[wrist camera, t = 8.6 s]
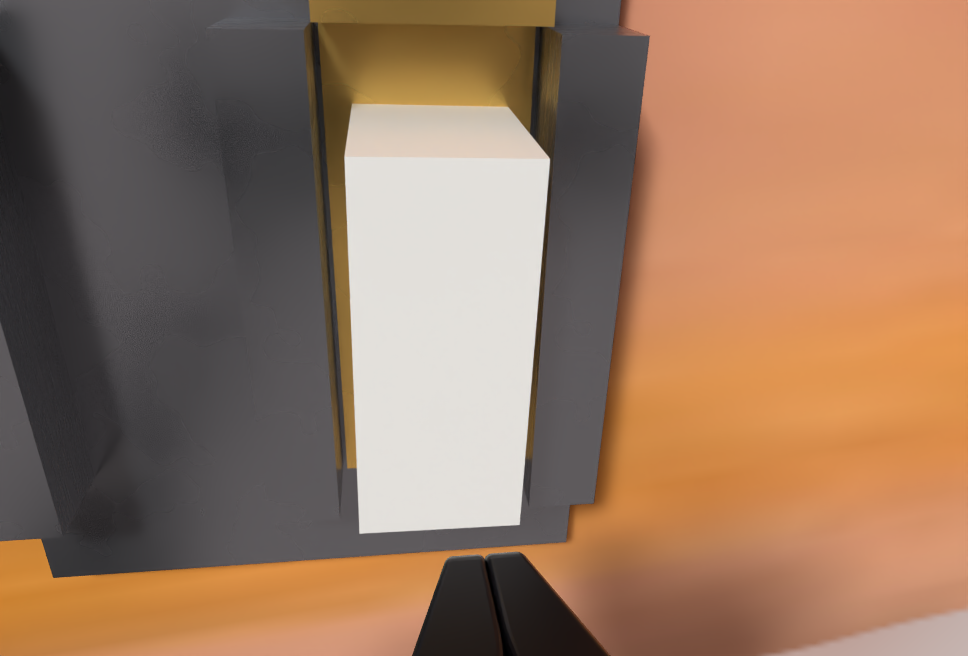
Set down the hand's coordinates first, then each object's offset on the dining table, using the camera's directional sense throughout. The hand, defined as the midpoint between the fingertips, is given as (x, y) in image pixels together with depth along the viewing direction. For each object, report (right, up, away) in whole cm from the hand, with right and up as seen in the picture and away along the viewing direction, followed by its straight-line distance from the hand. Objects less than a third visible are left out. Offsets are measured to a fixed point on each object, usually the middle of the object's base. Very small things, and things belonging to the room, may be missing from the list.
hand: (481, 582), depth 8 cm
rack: (-4, +4, +8) cm, 10 cm away
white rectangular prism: (-1, +4, +8) cm, 9 cm away
